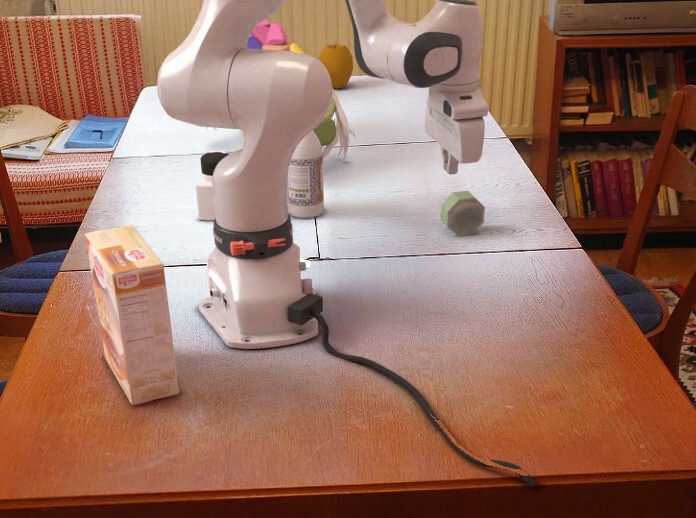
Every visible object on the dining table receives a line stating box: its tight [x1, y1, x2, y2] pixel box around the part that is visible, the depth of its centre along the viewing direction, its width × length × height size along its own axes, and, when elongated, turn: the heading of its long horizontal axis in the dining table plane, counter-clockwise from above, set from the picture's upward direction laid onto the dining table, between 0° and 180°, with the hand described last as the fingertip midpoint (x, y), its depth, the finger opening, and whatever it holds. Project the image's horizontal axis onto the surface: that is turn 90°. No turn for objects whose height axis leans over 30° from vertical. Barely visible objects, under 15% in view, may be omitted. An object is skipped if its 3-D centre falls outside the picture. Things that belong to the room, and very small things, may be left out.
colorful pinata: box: [205, 19, 356, 160], centre depth 214 cm, size 32×29×35 cm
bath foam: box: [287, 130, 325, 219], centre depth 182 cm, size 7×7×20 cm
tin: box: [440, 190, 486, 237], centre depth 175 cm, size 4×7×7 cm, turn 102°
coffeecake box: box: [84, 224, 180, 406], centre depth 132 cm, size 15×7×20 cm, turn 23°
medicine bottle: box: [195, 150, 231, 222], centre depth 185 cm, size 7×7×12 cm
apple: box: [317, 42, 354, 89], centre depth 262 cm, size 10×10×12 cm
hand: (450, 171), depth 178 cm, fingers closed
